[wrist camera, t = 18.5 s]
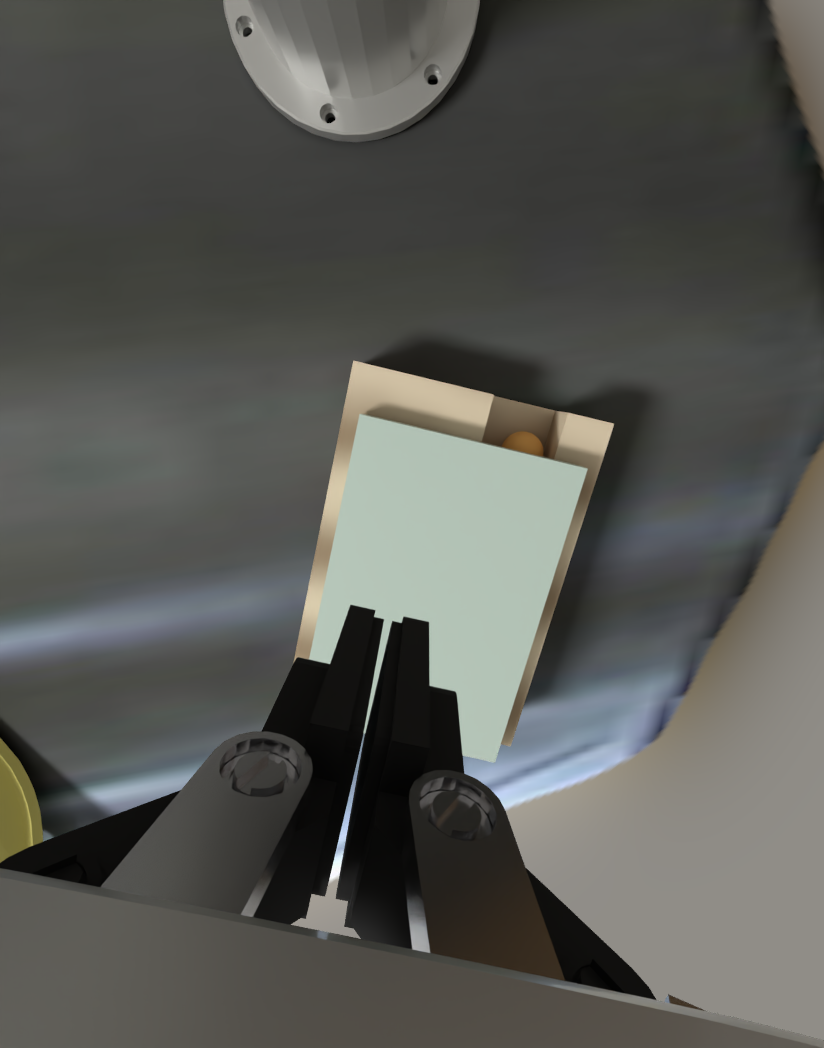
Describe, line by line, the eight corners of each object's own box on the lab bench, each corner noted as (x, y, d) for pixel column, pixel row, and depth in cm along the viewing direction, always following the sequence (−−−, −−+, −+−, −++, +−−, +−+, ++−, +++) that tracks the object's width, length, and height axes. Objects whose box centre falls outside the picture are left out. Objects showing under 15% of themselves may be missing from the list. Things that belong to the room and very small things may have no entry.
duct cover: (361, 413, 28) (359, 414, 27) (582, 466, 28) (587, 468, 27) (300, 708, 32) (296, 718, 31) (492, 751, 33) (494, 762, 32)
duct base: (361, 364, 31) (353, 360, 28) (594, 420, 31) (614, 423, 28) (300, 667, 36) (287, 695, 32) (502, 713, 36) (510, 746, 33)
